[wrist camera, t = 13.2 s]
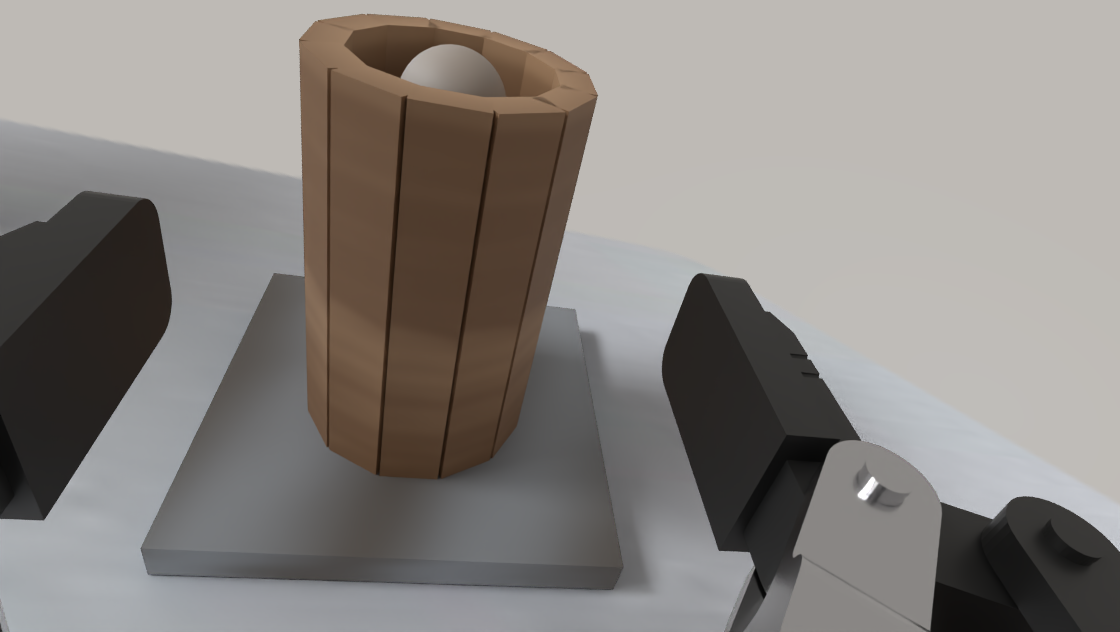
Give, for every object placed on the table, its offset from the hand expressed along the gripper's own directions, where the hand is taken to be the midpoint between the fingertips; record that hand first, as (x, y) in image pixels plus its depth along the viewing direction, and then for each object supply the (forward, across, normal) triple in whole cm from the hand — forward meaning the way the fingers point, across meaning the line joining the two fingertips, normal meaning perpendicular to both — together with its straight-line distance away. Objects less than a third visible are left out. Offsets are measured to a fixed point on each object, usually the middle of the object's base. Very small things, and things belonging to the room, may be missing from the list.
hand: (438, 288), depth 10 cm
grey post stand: (+6, 0, +9) cm, 11 cm away
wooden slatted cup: (+6, 0, +8) cm, 10 cm away
